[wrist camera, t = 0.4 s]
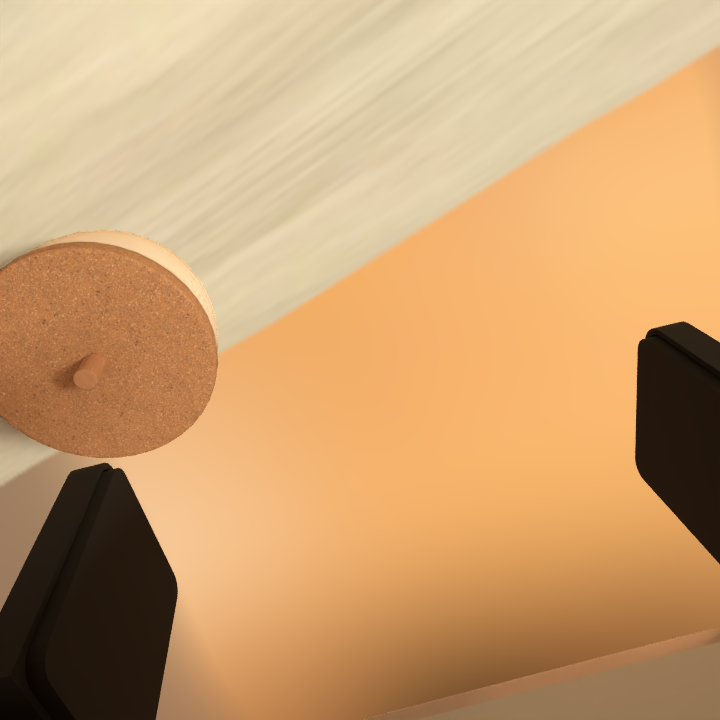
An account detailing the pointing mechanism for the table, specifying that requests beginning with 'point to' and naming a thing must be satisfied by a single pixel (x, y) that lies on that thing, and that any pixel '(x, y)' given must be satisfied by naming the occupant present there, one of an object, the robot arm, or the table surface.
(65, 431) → the lidded bowl
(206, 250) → the table surface
